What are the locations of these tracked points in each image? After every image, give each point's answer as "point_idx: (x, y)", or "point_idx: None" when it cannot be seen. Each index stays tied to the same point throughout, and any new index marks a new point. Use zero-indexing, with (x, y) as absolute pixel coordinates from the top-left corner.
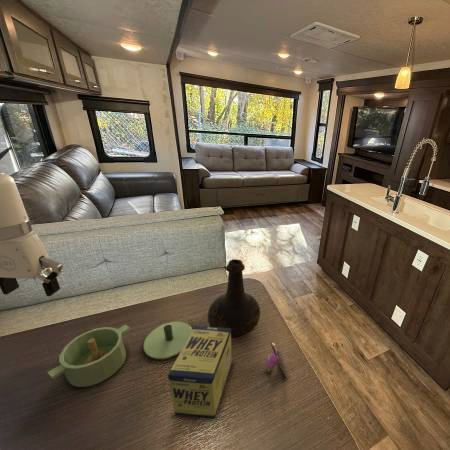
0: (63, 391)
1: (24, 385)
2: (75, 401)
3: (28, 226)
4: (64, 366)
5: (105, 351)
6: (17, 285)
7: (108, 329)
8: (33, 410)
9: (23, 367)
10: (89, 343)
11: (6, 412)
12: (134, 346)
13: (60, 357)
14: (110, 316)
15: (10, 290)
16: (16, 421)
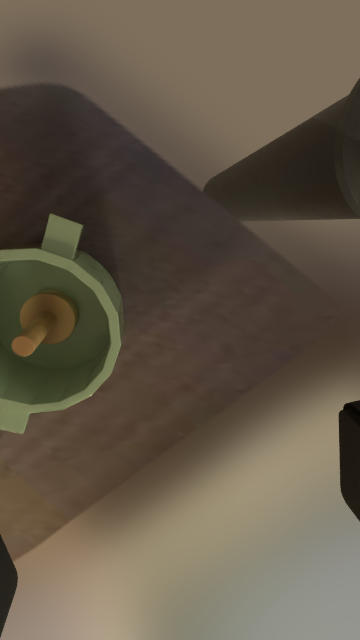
0: None
1: (182, 220)
2: (7, 206)
3: None
4: (39, 250)
5: (44, 343)
6: (355, 507)
7: (47, 402)
8: (89, 166)
9: (235, 261)
10: (18, 335)
11: (149, 150)
12: None
13: (87, 275)
14: (168, 444)
15: (350, 447)
16: (101, 134)
